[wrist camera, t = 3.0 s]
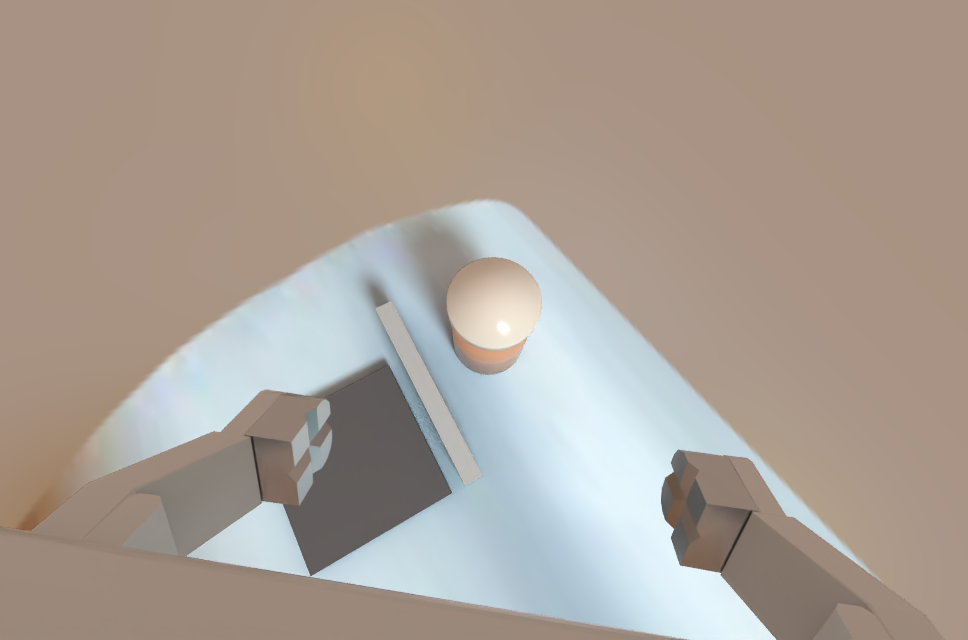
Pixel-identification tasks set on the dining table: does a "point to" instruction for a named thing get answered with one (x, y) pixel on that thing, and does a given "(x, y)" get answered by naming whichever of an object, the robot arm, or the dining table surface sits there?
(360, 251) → the dining table surface
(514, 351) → the jar
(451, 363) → the dining table surface
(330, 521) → the plate
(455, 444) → the divider
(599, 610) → the dining table surface
